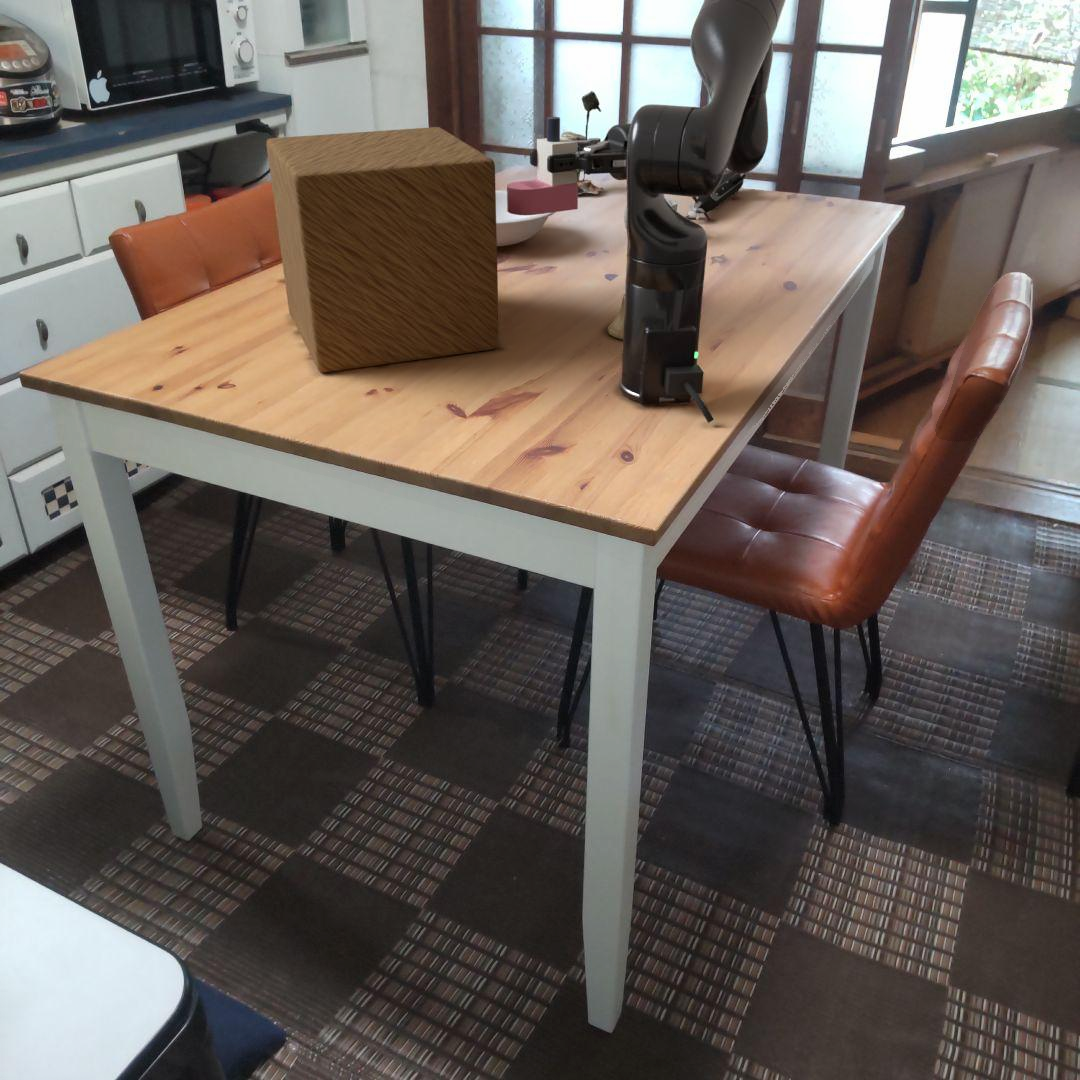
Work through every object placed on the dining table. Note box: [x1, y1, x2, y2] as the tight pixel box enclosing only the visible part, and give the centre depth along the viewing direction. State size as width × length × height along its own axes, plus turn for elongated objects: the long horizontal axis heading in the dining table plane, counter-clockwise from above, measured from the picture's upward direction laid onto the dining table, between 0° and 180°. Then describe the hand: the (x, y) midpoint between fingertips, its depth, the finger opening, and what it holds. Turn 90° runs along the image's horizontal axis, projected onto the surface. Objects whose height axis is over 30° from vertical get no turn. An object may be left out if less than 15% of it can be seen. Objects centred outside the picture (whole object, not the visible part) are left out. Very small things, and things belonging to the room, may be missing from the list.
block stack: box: [506, 116, 579, 215], centre depth 141 cm, size 10×5×12 cm, turn 118°
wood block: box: [266, 126, 500, 373], centre depth 139 cm, size 25×25×25 cm
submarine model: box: [685, 171, 746, 222], centre depth 205 cm, size 31×7×10 cm
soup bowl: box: [495, 189, 556, 247], centre depth 183 cm, size 24×24×7 cm
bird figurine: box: [560, 90, 604, 195], centre depth 212 cm, size 8×11×20 cm
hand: (540, 161), depth 141 cm, fingers closed on block stack, 4 cm apart
